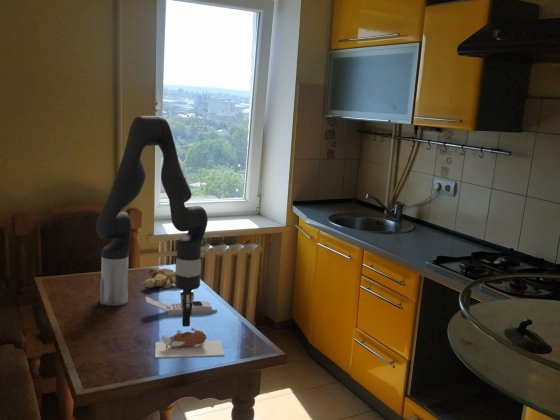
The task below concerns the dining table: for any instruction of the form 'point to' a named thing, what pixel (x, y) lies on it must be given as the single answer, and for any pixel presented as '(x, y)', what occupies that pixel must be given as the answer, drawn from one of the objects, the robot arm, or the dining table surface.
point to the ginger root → (160, 278)
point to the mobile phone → (176, 309)
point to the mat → (189, 350)
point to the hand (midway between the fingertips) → (185, 325)
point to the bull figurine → (185, 339)
